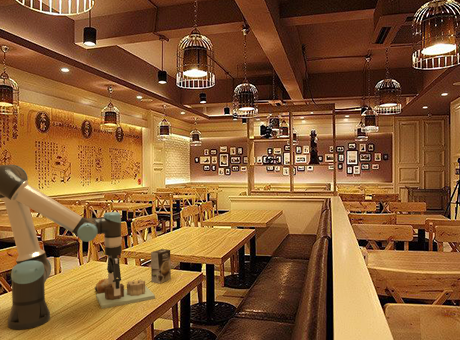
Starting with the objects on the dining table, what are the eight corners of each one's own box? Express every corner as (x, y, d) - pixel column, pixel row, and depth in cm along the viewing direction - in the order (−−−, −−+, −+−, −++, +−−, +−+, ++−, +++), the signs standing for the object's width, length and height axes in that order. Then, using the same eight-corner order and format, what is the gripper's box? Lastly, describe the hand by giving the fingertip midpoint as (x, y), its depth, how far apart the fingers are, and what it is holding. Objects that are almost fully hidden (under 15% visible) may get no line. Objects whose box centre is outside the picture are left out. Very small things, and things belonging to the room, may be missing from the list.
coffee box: (160, 283, 198) (159, 253, 198) (151, 281, 201) (150, 251, 201) (171, 279, 206) (170, 249, 205) (162, 277, 209) (161, 248, 209)
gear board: (101, 308, 165) (101, 291, 165) (96, 297, 179) (95, 281, 179) (155, 298, 176) (154, 282, 176) (145, 288, 190) (145, 273, 190)
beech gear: (134, 297, 174) (134, 286, 174) (123, 293, 180) (123, 283, 179) (148, 292, 181) (148, 281, 181) (138, 288, 186) (137, 278, 186)
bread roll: (106, 302, 183) (112, 287, 182) (89, 292, 184) (95, 278, 184) (116, 295, 192) (122, 281, 192) (100, 285, 194) (105, 272, 193)
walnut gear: (106, 301, 170) (106, 290, 170) (103, 295, 177) (103, 285, 177) (125, 297, 174) (125, 287, 174) (121, 292, 181) (121, 282, 181)
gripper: (127, 250, 166) (128, 297, 166) (116, 240, 188) (117, 282, 188) (109, 252, 162) (111, 300, 162) (100, 241, 184) (101, 284, 185)
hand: (114, 291), depth 175 cm, fingers open, 13 cm apart
